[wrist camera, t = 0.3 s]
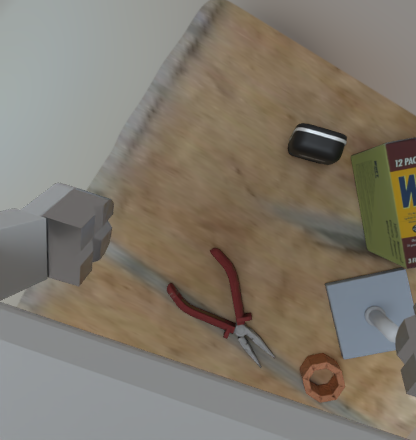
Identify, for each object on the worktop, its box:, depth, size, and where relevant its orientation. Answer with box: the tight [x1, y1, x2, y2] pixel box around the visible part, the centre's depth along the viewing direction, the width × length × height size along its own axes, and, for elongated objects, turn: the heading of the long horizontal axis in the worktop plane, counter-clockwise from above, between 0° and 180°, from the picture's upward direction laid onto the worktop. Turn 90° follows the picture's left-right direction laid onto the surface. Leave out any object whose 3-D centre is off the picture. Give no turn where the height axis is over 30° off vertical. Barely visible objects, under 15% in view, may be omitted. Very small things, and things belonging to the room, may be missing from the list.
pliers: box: [167, 248, 275, 368], centre depth 64 cm, size 12×20×3 cm, turn 40°
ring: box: [300, 353, 345, 402], centre depth 62 cm, size 6×6×4 cm
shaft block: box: [325, 268, 415, 359], centre depth 57 cm, size 12×12×10 cm
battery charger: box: [288, 123, 347, 165], centre depth 56 cm, size 7×4×11 cm, turn 73°
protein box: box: [351, 137, 416, 269], centre depth 53 cm, size 10×15×16 cm
